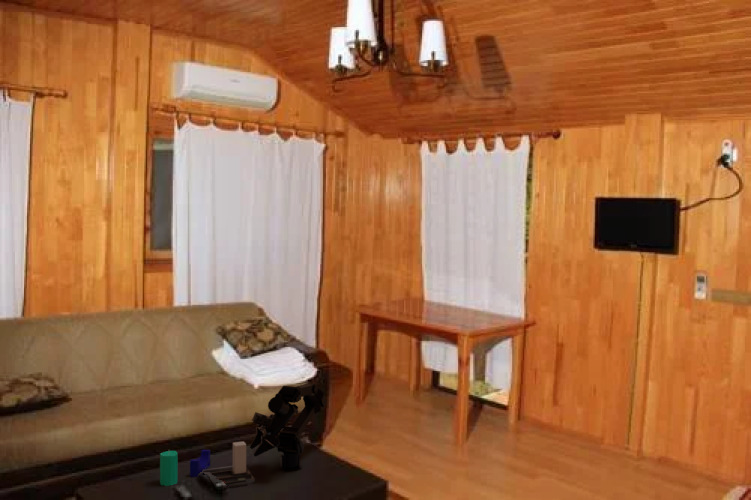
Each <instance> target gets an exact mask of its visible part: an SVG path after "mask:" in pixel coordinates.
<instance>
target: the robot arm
mask: <svg viewBox="0 0 751 500" xmlns="http://www.w3.org/2000/svg"><path fill="white" fill-rule="evenodd" d="M301 400H303V402H304V407H303V409H302V410H301V411H300V413H299V406H298V405H297V404H295V403H298V402H300V401H301ZM327 400H328V399H327V397H326V394H325V393H324V391H322V390H321V389H320V388H319V386H318V384H316V383H313V382H311V383H310V382H306V383H304V384H300V385H296V386H293V385H282V386H281V388H280V389H279V390H278V392H277V393H275V394H274V397H272V398H270V400H269V401H268V403H267V408H268V410H269V411H270V412H271V413H272V414H270V415H269V416H268V415H266V414H263V413H259V412H254V414H253V417H252V419H251V421H252V422H253V424H255V425H256V426H255V430H256V433H255V435H254V438H253V440H252V442H251V444H250V446H249V448H250V450H253V449H254V448H256V449H255V451H254V452H253V456H254V457H258V456H260V455H262V454H264V453H266V452H268V451H270V450H272V449H275V448H277V449H276V450H277V453H278V452H279V453H281V454H280V456H279V466H280V468H281V469H282V470H283V471H284V472H288V471H295V470H301V469H302V467H301V466H300V465H301V464H300V463H301V460H300V459H301V458H300V457H301V455H300V454H303V452H304V449H305V445H304V442H303V441H302V439H301V435H302V433H303V432H304V431H305V429H306V428H307V426H308V424H309V423H310V422H311V420H312V419H313V418H314V416H315V415H317V414H319V413H321V412H322V411H324V409H325V408H326V406H327V403H328V401H327ZM292 403H293V404H292ZM298 413H299V415H298V416H297V417H296V419H295V420H294V421H293V422H292V424H291V426H287V423H288V422H290V420H291V419H292V417H293V416H295V414H298Z"/></svg>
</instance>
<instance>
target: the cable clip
mask: <svg viewBox="0 0 751 500" xmlns="http://www.w3.org/2000/svg"><path fill="white" fill-rule="evenodd" d="M210 466H211V449H202V450H201V451H200V457H199V456H198V457H197V458H196V459H191V460H189V476H190V477H193V478H198V477H197V476H198V474H199V473H200V472H202V470H204V469H209V467H210Z"/></svg>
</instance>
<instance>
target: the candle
mask: <svg viewBox="0 0 751 500" xmlns="http://www.w3.org/2000/svg"><path fill="white" fill-rule="evenodd" d="M178 459H179V458H178V452H177V451H176V450H168V451H167V450H166V451H163V452H161V453H159V484H160V485H161V486H163V485H164V486H165V487H170V485H171V486H173V485H174V484H175V485H176V484H178V475H179V474H178V473H179V471H178V469H179V468H178V467H179V466H178V463H179V461H178Z"/></svg>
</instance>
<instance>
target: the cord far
mask: <svg viewBox="0 0 751 500" xmlns="http://www.w3.org/2000/svg"><path fill="white" fill-rule="evenodd" d="M246 467H247V469H248V470H249V464H246ZM232 469H233V465H229V466H219V467H211V468H207V469H204V470H202V471H203V472H217V471H224V470H232Z"/></svg>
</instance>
